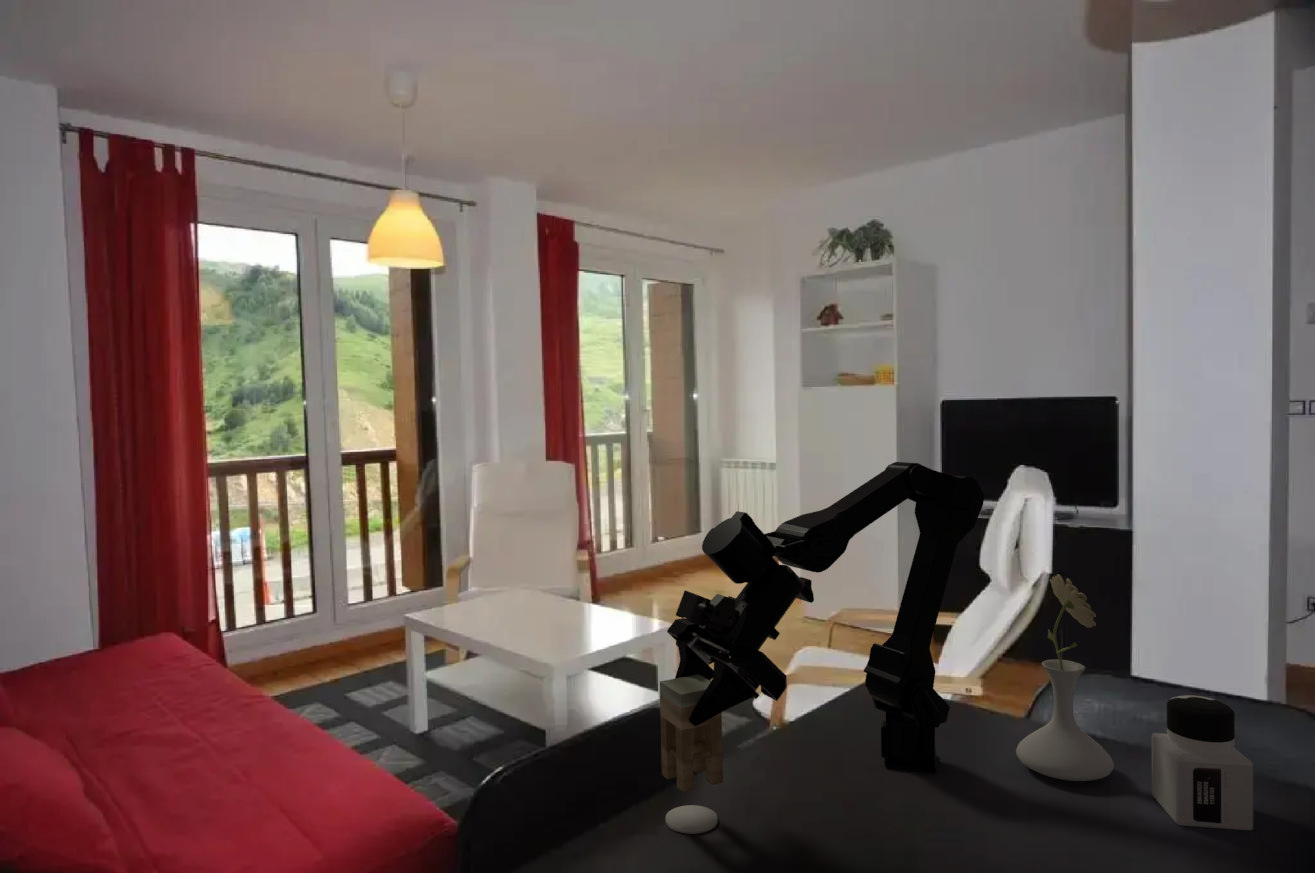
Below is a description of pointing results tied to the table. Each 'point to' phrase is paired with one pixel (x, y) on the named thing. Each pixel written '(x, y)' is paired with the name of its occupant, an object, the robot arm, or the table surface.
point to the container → (1202, 766)
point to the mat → (691, 819)
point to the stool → (688, 734)
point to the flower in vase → (1065, 710)
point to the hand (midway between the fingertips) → (679, 715)
